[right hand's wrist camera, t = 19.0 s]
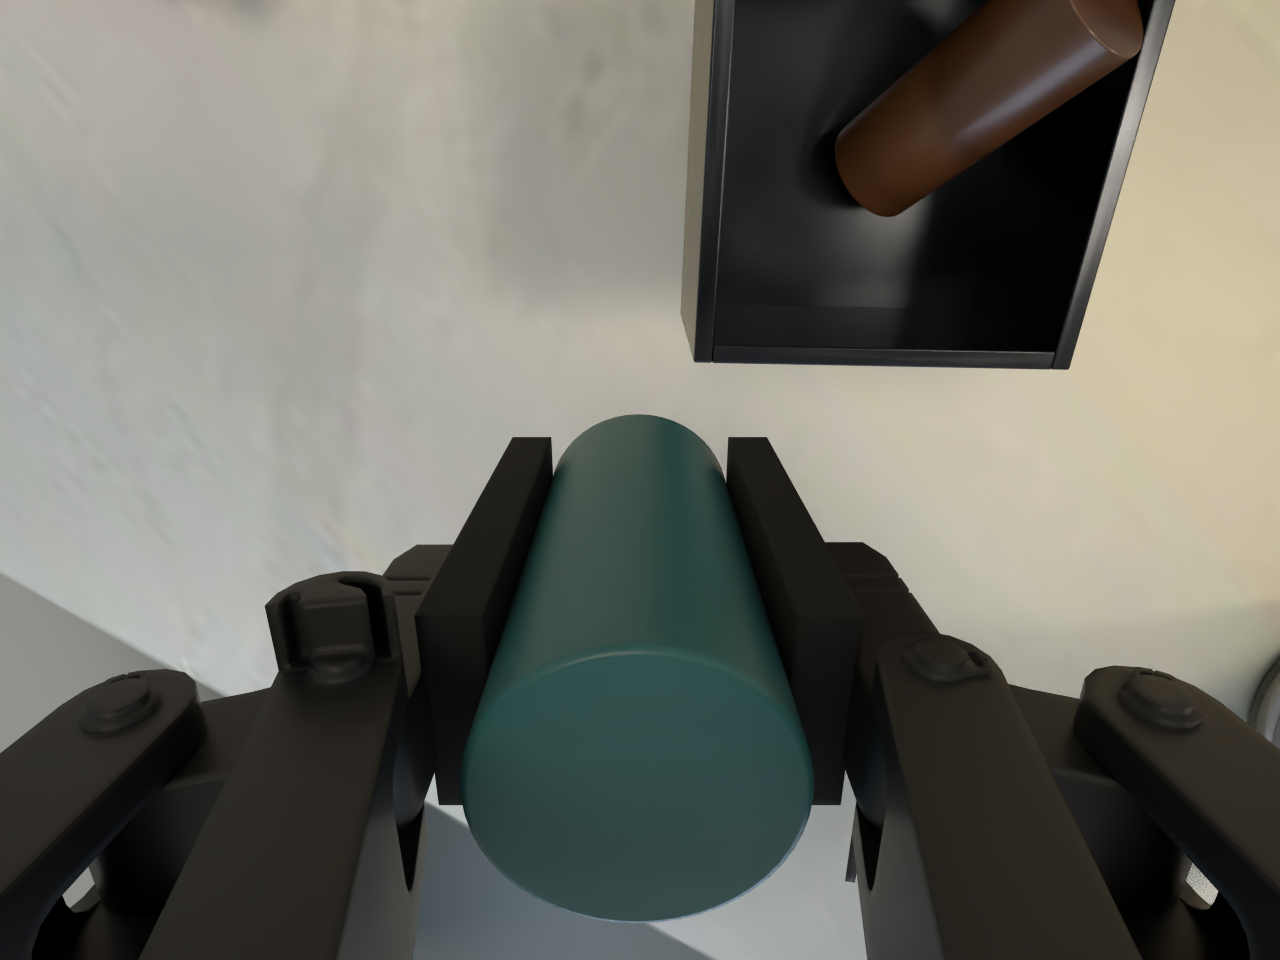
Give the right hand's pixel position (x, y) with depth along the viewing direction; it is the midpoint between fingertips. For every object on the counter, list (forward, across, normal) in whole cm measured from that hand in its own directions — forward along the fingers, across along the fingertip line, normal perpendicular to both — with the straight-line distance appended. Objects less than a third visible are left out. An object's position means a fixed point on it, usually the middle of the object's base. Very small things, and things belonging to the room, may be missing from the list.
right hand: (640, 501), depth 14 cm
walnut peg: (+14, -8, -7) cm, 18 cm away
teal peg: (0, 0, 0) cm, 0 cm away
